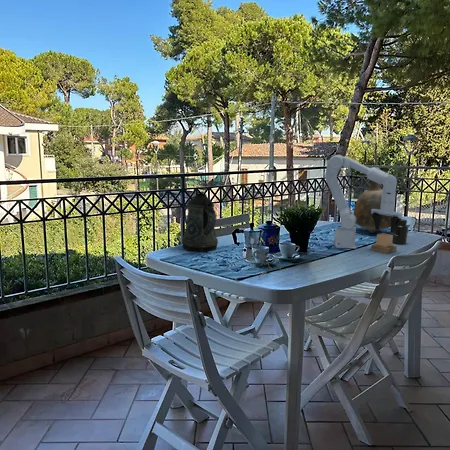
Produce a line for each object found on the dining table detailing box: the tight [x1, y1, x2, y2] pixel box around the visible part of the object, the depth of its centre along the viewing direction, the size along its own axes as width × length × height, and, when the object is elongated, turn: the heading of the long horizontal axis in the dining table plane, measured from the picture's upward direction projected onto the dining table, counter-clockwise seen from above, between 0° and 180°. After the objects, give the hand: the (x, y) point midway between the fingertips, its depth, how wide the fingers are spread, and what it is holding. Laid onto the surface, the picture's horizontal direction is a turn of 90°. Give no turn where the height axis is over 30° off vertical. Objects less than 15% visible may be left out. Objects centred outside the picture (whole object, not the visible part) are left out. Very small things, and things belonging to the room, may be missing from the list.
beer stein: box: [181, 193, 219, 253], centre depth 193 cm, size 16×19×25 cm
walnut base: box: [370, 243, 398, 255], centre depth 198 cm, size 8×8×3 cm
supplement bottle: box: [392, 218, 409, 245], centre depth 213 cm, size 7×7×12 cm
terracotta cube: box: [375, 232, 393, 247], centre depth 197 cm, size 5×5×5 cm
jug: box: [353, 180, 396, 233], centre depth 233 cm, size 24×21×30 cm
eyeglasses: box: [226, 252, 282, 279], centre depth 165 cm, size 16×15×5 cm
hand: (384, 230), depth 197 cm, fingers open, 7 cm apart
